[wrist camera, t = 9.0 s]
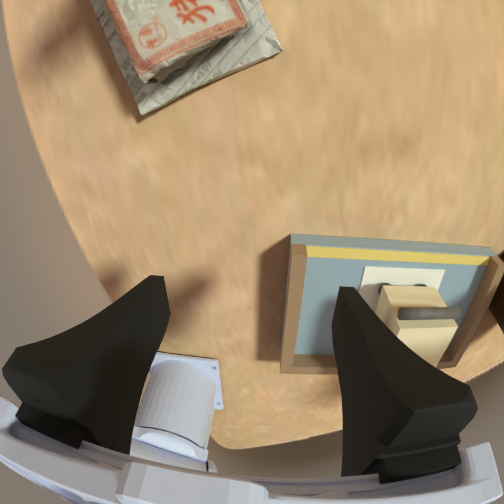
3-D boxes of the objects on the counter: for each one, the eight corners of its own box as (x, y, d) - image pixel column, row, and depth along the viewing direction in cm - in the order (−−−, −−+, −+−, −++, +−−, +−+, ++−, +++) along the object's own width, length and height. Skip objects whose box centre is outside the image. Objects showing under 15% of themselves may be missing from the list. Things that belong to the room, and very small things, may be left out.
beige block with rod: (404, 341, 25) (420, 391, 20) (358, 342, 25) (369, 395, 20) (433, 267, 21) (463, 314, 16) (381, 264, 21) (405, 316, 16)
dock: (446, 346, 27) (455, 366, 24) (280, 348, 28) (279, 373, 26) (489, 247, 21) (506, 265, 18) (290, 233, 22) (291, 254, 20)
